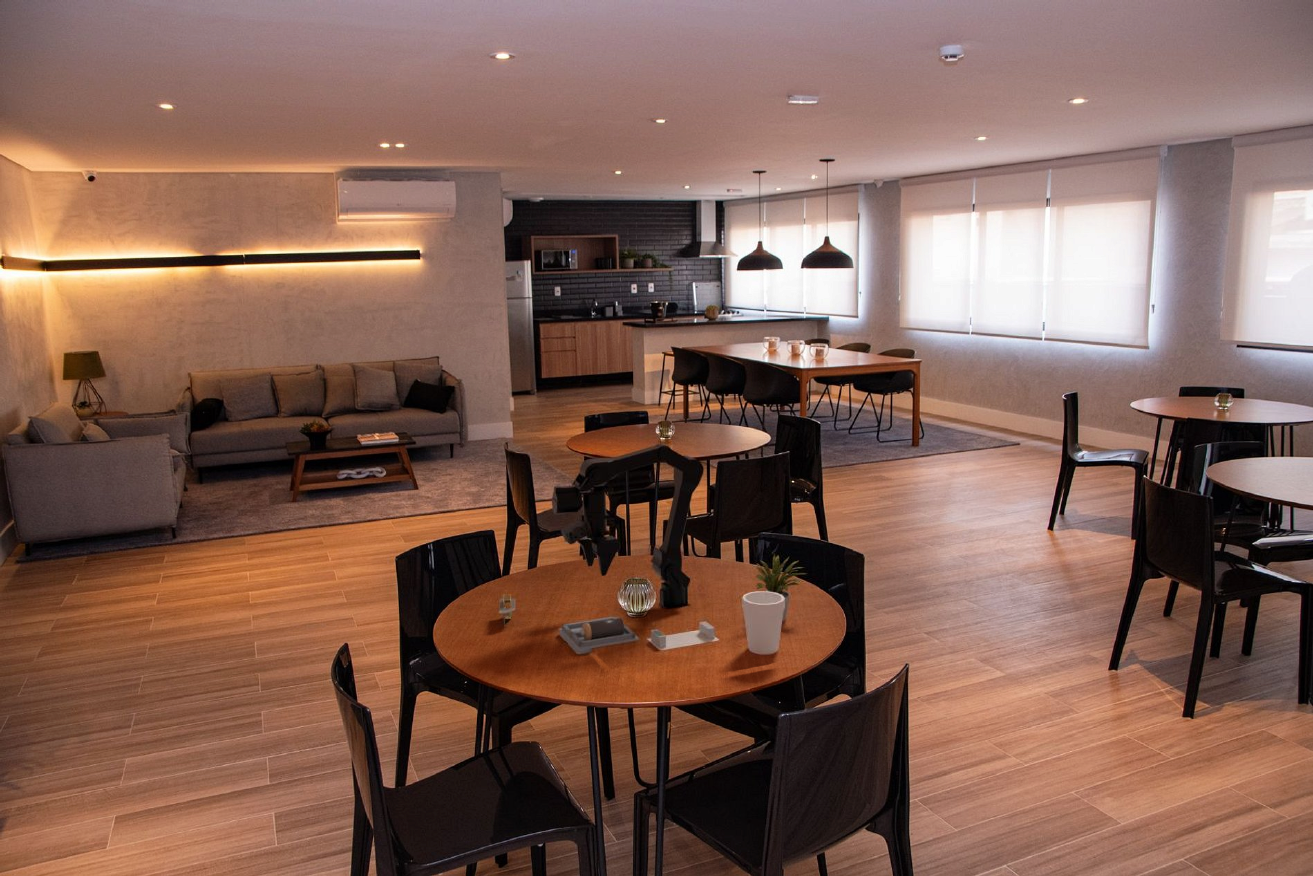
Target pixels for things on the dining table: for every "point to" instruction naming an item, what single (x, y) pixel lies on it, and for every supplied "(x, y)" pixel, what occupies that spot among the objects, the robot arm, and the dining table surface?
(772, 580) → the house plant
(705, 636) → the checker cradle
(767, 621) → the foam cup
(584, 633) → the battery cell
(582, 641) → the two-compartment grey tray
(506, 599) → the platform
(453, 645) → the dining table surface
